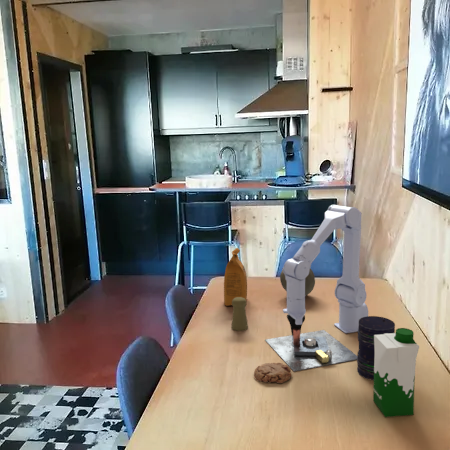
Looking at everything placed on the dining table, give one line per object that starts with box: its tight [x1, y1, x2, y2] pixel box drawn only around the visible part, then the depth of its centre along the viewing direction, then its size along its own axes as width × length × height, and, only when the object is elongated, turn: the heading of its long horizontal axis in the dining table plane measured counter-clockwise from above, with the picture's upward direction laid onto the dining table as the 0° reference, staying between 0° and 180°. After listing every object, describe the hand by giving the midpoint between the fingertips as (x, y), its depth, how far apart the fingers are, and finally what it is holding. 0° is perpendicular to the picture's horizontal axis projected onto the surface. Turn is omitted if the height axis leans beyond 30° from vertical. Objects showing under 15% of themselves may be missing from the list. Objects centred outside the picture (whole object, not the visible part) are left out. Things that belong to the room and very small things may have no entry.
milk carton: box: [372, 327, 420, 418], centre depth 110 cm, size 9×9×20 cm
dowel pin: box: [326, 350, 332, 361], centre depth 136 cm, size 2×2×3 cm
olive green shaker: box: [231, 297, 249, 332], centre depth 161 cm, size 6×6×11 cm
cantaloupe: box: [279, 267, 316, 297], centre depth 189 cm, size 14×14×15 cm
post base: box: [264, 329, 358, 373], centre depth 143 cm, size 22×22×3 cm
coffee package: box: [223, 247, 248, 307], centre depth 185 cm, size 10×12×22 cm
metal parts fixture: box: [292, 328, 329, 363], centre depth 141 cm, size 15×11×6 cm
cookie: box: [253, 362, 293, 384], centre depth 128 cm, size 10×11×3 cm
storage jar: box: [356, 315, 396, 382], centre depth 127 cm, size 10×10×15 cm
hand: (295, 336), depth 145 cm, fingers closed, pressing on metal parts fixture
